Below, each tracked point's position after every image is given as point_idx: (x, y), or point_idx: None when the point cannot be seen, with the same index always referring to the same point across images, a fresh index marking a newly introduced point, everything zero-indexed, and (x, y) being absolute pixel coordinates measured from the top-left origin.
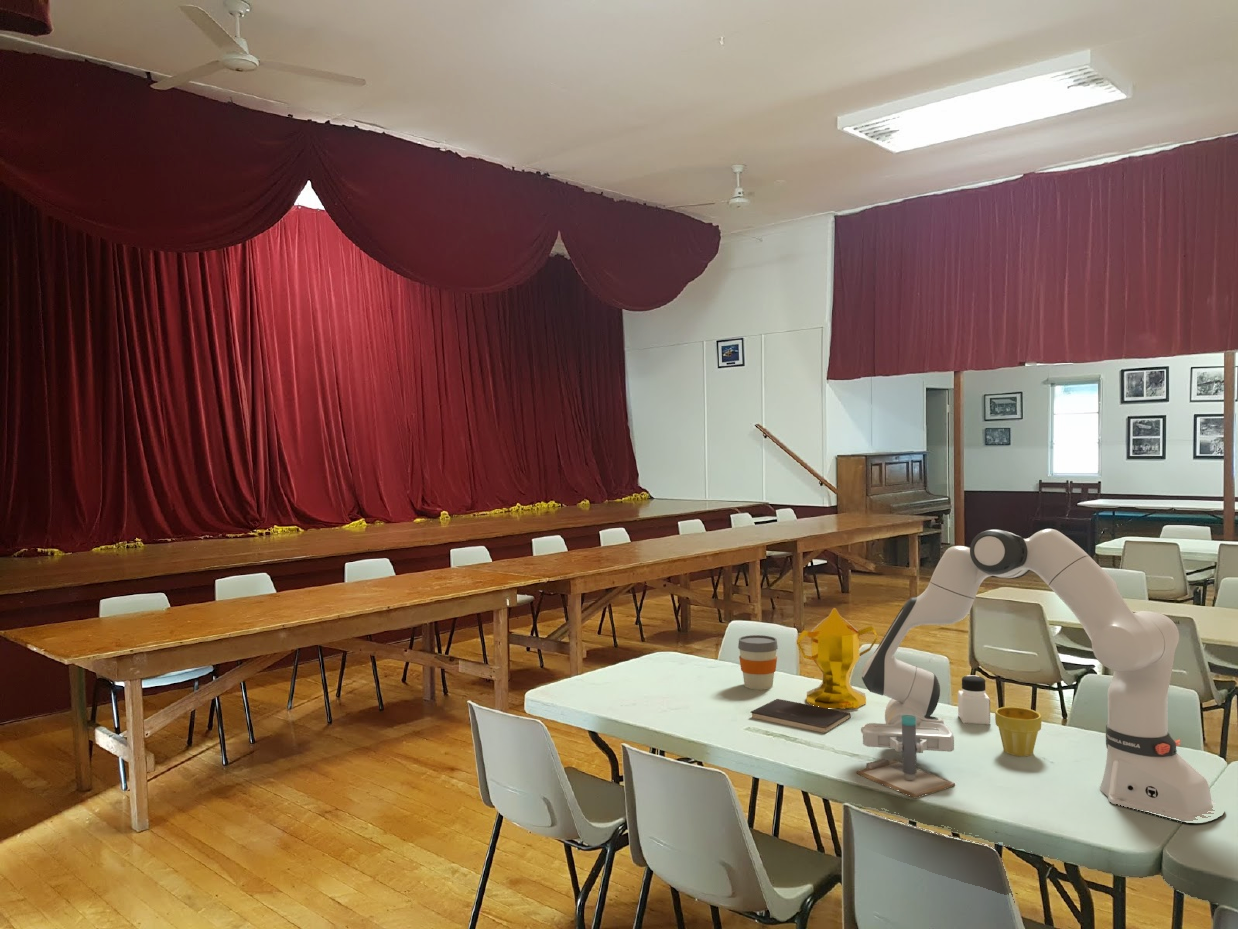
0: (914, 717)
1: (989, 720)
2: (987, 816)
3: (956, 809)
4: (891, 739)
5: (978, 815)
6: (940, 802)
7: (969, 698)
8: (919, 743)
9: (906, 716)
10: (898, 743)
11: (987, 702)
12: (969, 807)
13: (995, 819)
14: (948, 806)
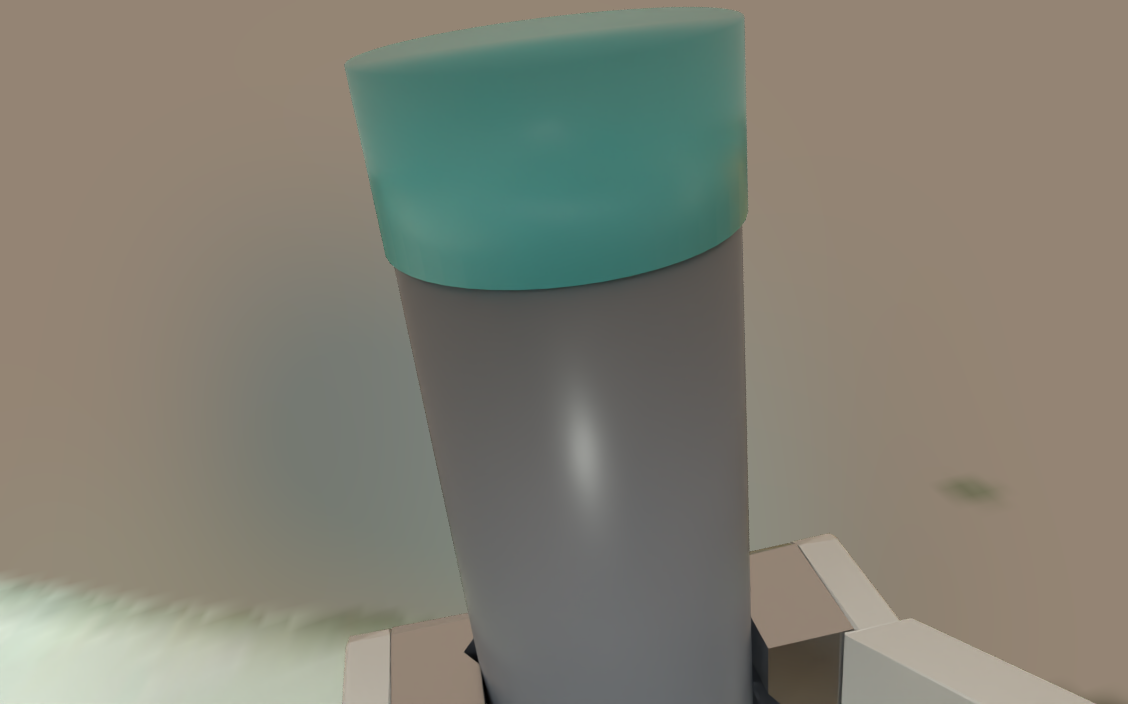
0: (383, 52)
1: None
2: (48, 609)
3: (236, 621)
4: (1054, 692)
5: (108, 599)
6: (335, 681)
7: None
8: (405, 700)
9: (603, 25)
10: (800, 559)
11: None
12: (115, 689)
13: (15, 592)
14: (285, 642)
